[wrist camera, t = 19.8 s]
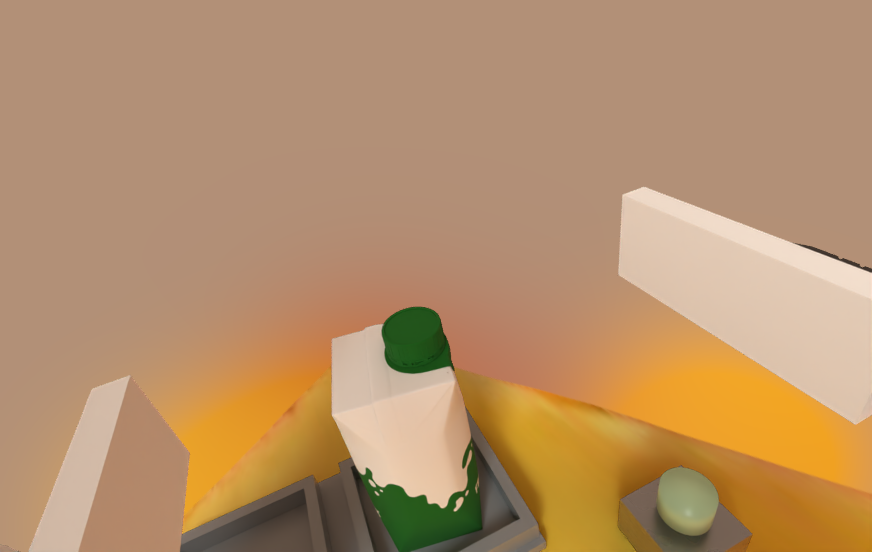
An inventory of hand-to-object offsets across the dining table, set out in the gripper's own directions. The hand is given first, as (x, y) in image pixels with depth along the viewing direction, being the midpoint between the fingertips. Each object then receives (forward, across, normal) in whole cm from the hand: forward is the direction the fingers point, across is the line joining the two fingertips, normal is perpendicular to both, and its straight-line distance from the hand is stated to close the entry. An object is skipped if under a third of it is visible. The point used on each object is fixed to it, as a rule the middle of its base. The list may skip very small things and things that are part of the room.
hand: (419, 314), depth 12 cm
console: (+3, +16, -32) cm, 36 cm away
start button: (+3, +16, -27) cm, 32 cm away
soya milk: (+14, 0, -31) cm, 34 cm away
